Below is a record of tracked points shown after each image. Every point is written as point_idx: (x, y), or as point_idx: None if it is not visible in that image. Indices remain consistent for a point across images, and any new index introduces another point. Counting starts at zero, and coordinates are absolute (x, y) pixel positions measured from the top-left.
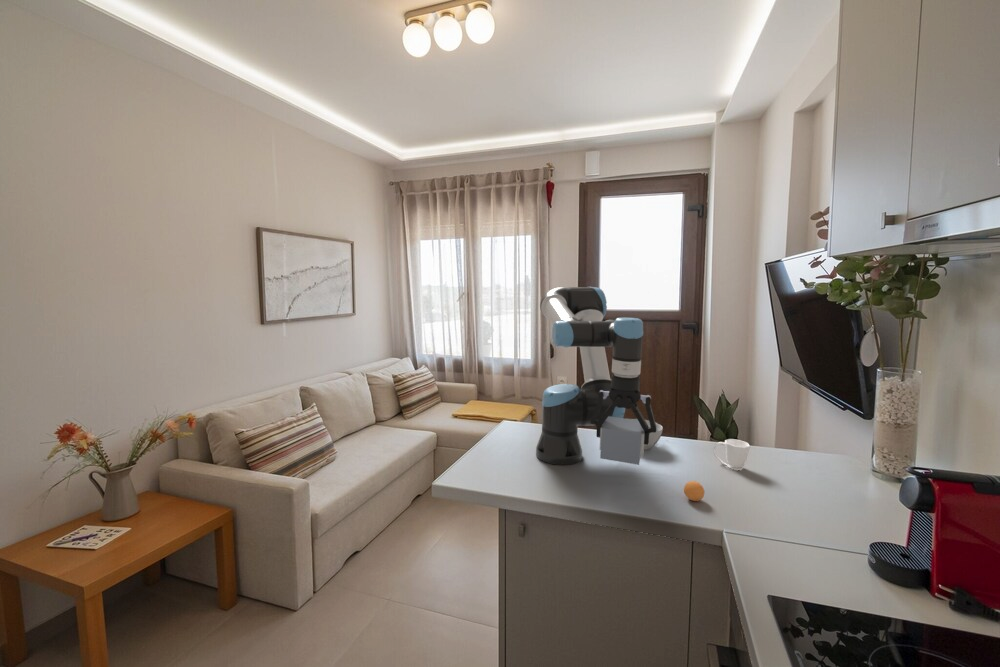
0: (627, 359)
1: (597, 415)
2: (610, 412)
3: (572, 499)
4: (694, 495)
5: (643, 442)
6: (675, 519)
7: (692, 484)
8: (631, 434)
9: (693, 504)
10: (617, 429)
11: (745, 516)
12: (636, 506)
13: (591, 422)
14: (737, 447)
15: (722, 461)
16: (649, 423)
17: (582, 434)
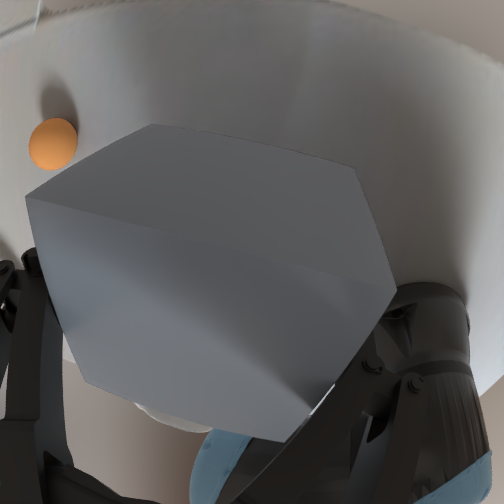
0: None
1: (379, 439)
2: (271, 470)
3: (430, 68)
4: (52, 119)
5: None
6: (115, 15)
7: (40, 141)
8: (99, 199)
9: (69, 112)
10: (221, 261)
11: (2, 102)
12: (214, 45)
13: (420, 382)
14: (1, 308)
15: None
16: (164, 417)
17: (316, 408)
